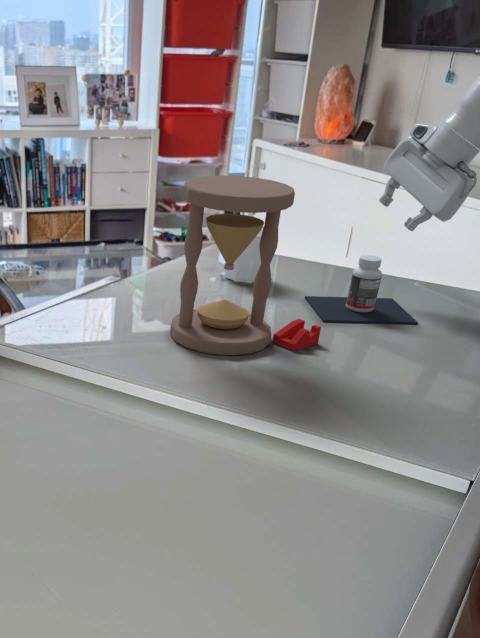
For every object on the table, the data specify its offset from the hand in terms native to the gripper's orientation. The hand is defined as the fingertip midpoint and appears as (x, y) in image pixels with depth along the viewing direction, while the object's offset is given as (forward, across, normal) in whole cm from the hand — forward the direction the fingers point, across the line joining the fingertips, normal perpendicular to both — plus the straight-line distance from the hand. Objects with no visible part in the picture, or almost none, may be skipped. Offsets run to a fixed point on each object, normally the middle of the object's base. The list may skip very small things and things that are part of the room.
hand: (394, 216), depth 148 cm
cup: (+27, +12, +12) cm, 32 cm away
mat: (+16, -12, +3) cm, 20 cm away
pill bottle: (+15, -12, +3) cm, 20 cm away
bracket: (+22, -24, +24) cm, 40 cm away
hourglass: (+28, -19, +34) cm, 48 cm away
